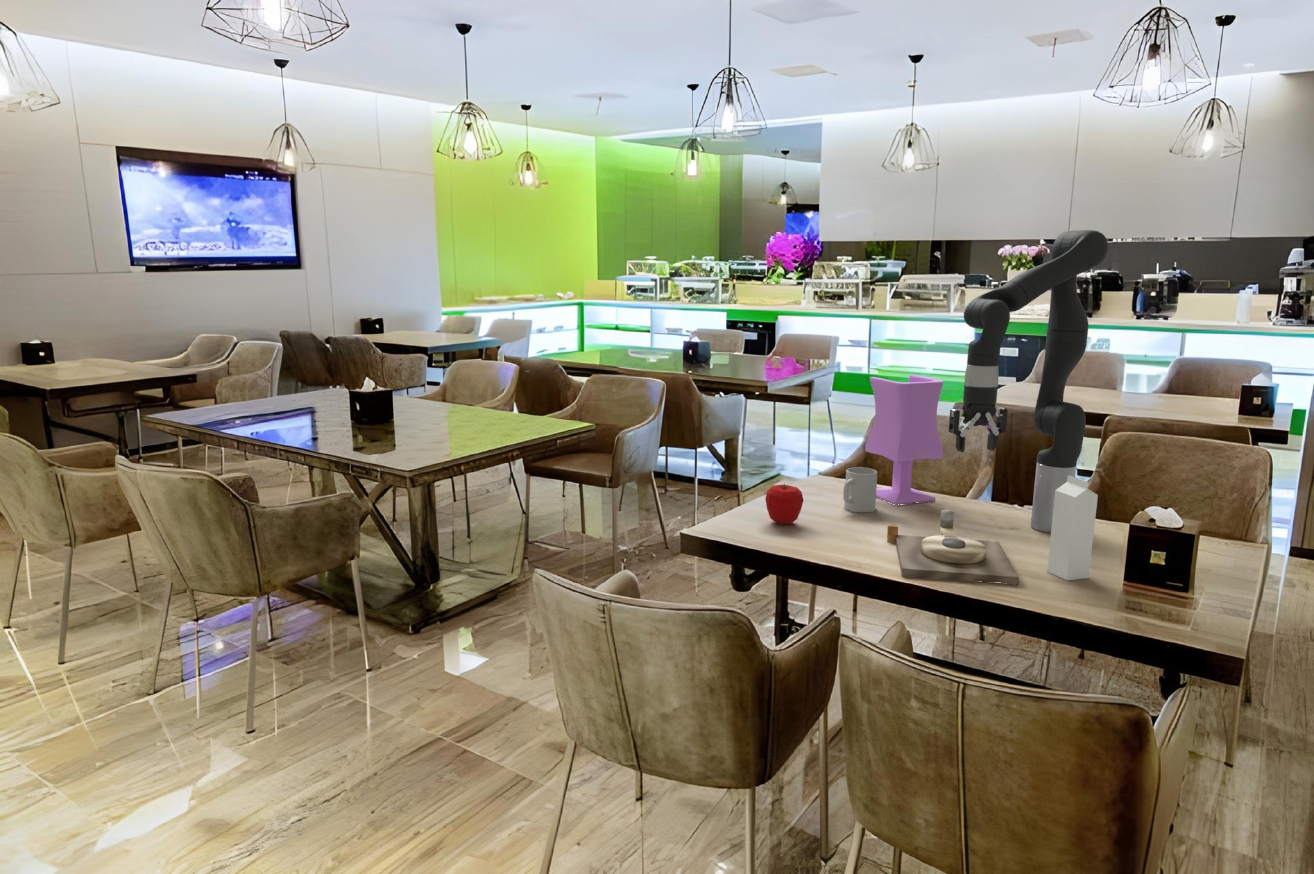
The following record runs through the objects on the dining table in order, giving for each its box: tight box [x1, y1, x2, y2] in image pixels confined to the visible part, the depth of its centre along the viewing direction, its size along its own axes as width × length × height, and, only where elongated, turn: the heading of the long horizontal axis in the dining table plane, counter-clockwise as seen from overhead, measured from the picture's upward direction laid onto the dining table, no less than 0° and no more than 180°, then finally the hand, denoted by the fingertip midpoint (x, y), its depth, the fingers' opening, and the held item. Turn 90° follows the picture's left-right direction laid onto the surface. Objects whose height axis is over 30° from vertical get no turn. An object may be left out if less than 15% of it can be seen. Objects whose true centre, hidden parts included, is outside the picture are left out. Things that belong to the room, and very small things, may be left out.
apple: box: [765, 483, 805, 526], centre depth 222 cm, size 10×10×11 cm
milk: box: [1046, 476, 1099, 581], centre depth 185 cm, size 6×6×22 cm
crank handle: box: [921, 509, 986, 564], centre depth 198 cm, size 22×14×6 cm, turn 168°
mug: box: [842, 466, 878, 513], centre depth 235 cm, size 12×8×11 cm
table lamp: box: [864, 374, 945, 506], centre depth 245 cm, size 16×16×35 cm
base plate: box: [886, 522, 1019, 585], centre depth 196 cm, size 26×26×4 cm
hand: (975, 450), depth 206 cm, fingers open, 7 cm apart
